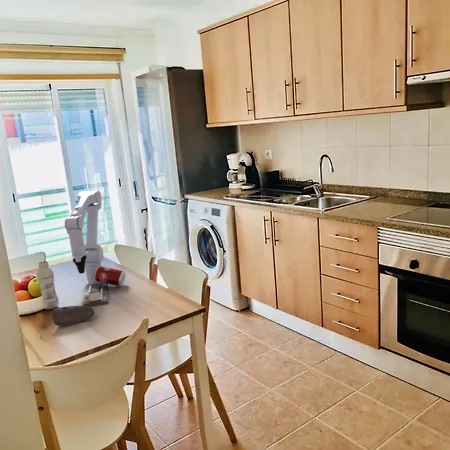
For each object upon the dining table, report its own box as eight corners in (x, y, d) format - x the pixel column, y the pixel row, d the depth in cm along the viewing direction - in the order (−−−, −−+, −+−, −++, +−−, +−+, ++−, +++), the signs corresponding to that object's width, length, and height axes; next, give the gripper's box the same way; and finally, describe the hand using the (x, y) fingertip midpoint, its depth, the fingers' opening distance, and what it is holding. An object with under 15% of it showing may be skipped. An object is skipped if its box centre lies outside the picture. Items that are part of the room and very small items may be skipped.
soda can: (126, 275, 206) (102, 270, 207) (124, 268, 200) (99, 263, 201) (121, 289, 202) (96, 284, 203) (118, 282, 196) (93, 277, 197)
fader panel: (85, 289, 202) (85, 284, 202) (108, 285, 204) (107, 280, 204) (82, 308, 180) (82, 302, 180) (108, 303, 183) (107, 298, 182)
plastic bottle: (54, 311, 179) (45, 264, 175) (39, 311, 181) (30, 264, 176) (62, 304, 186) (55, 259, 181) (48, 304, 187) (40, 259, 182)
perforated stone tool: (95, 316, 171) (93, 299, 169) (95, 322, 166) (92, 305, 164) (55, 324, 167) (52, 307, 166) (53, 329, 162) (50, 312, 161)
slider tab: (90, 298, 185) (89, 290, 184) (100, 297, 186) (98, 289, 185) (90, 301, 182) (88, 293, 181) (99, 299, 183) (98, 291, 182)
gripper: (85, 246, 186) (90, 276, 189) (87, 238, 200) (92, 266, 203) (68, 248, 185) (73, 279, 188) (71, 240, 199) (76, 269, 202)
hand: (82, 273), depth 195 cm, fingers closed
